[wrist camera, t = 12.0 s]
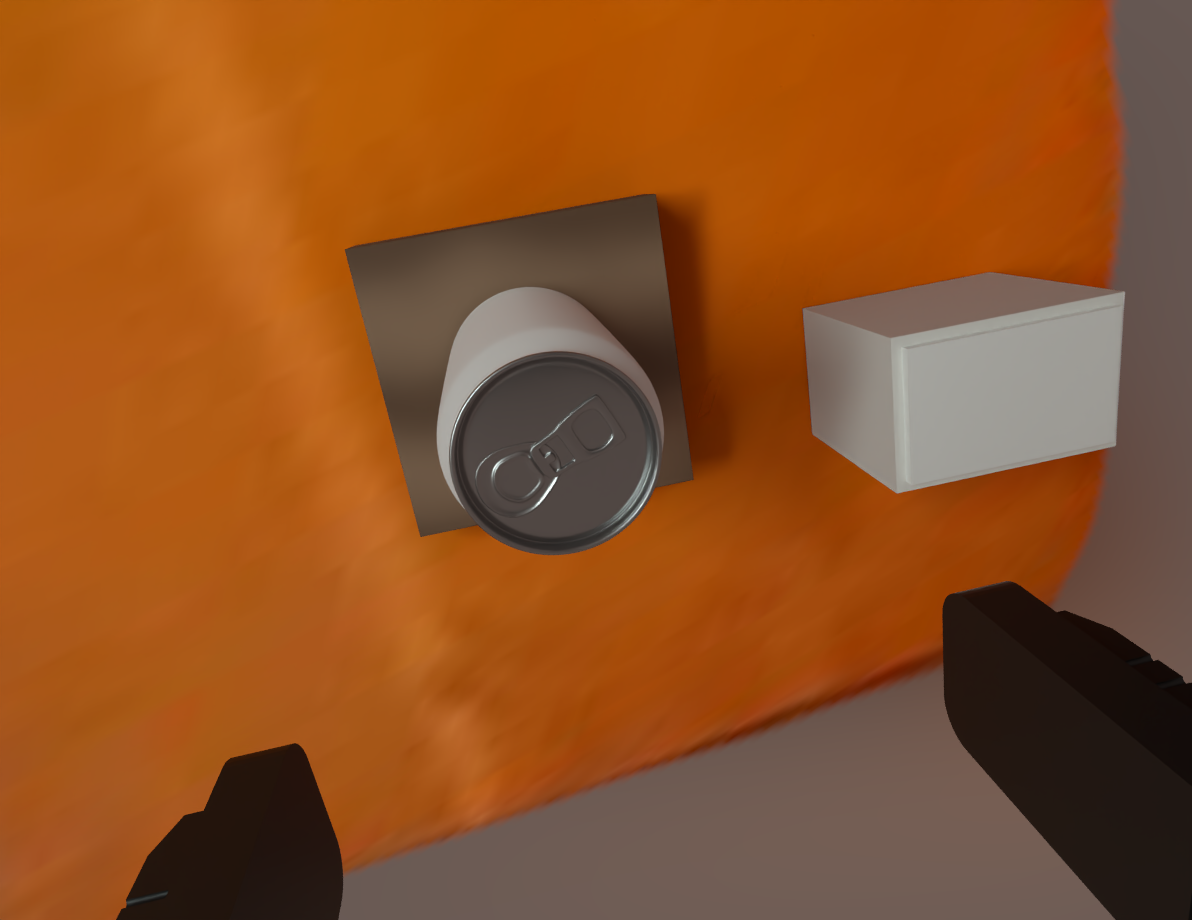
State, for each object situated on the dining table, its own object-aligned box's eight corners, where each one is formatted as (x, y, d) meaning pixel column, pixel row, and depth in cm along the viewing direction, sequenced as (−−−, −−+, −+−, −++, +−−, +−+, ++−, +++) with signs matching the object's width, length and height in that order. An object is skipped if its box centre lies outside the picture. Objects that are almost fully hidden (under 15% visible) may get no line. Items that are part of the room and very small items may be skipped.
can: (415, 346, 31) (378, 430, 20) (551, 251, 31) (592, 282, 19) (511, 471, 33) (526, 612, 22) (639, 385, 33) (722, 483, 22)
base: (354, 245, 32) (344, 249, 30) (642, 194, 33) (655, 194, 31) (424, 514, 36) (420, 536, 34) (679, 461, 37) (693, 479, 35)
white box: (802, 308, 35) (896, 340, 28) (990, 272, 36) (1133, 292, 28) (812, 434, 37) (902, 497, 30) (989, 397, 38) (1123, 449, 30)
